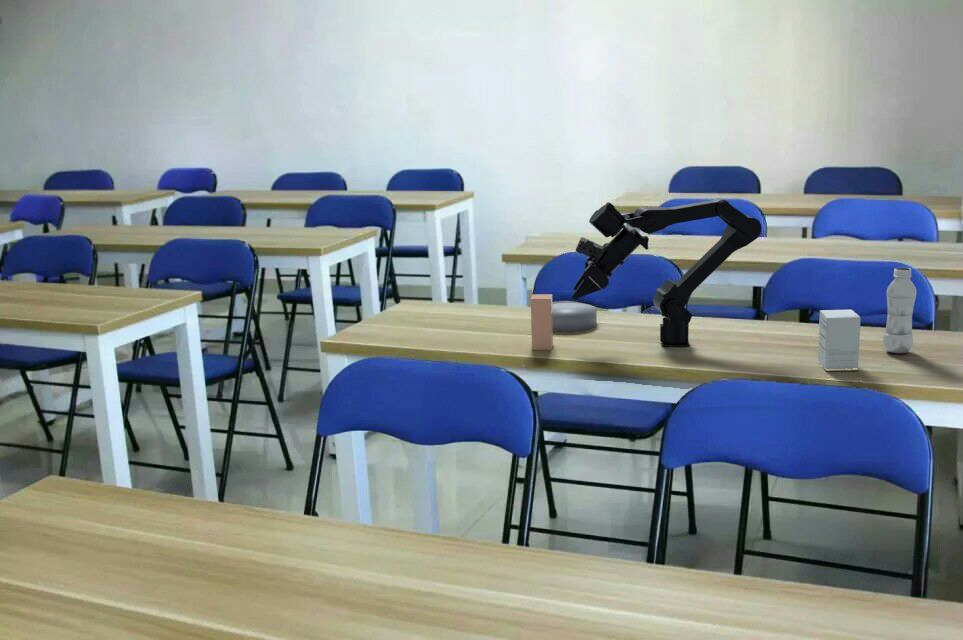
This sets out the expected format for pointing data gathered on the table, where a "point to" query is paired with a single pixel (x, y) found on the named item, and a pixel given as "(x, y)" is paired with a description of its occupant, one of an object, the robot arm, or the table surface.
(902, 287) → the plastic bottle
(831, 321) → the supplement box
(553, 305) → the plinth
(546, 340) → the terracotta block
